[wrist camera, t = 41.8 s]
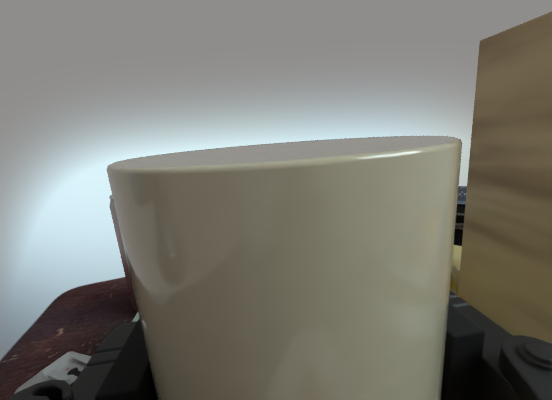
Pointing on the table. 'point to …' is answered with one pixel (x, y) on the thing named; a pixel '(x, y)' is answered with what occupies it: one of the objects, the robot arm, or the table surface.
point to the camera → (60, 370)
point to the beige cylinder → (293, 267)
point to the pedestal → (511, 183)
